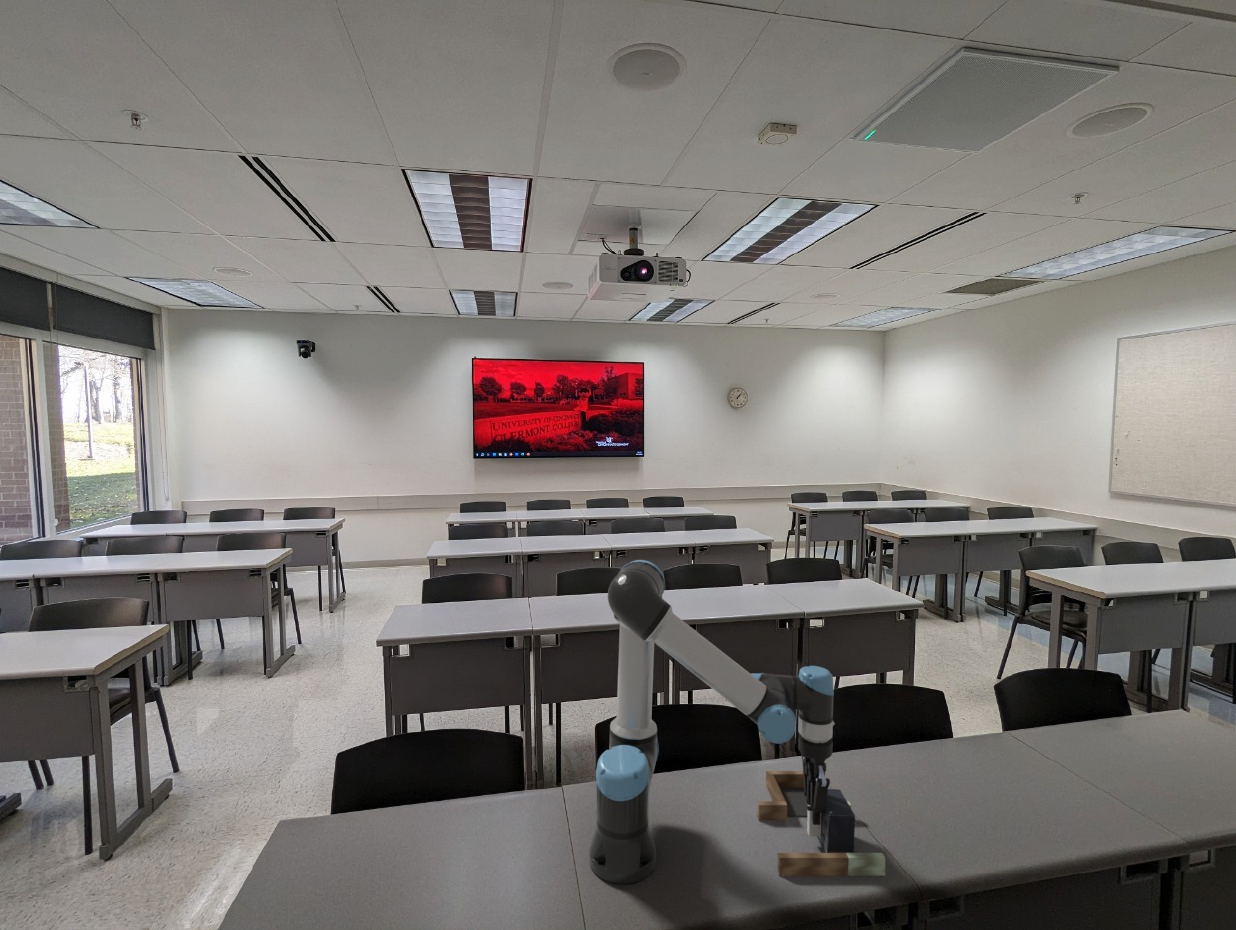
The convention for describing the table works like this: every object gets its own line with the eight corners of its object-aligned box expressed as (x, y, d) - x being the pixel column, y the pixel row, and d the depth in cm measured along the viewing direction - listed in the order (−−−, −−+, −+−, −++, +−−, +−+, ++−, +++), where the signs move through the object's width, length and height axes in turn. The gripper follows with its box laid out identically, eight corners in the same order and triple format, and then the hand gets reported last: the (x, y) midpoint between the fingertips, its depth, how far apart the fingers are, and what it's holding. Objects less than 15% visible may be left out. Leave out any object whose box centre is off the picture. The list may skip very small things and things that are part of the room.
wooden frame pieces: (779, 875, 129) (779, 857, 129) (745, 785, 162) (745, 771, 162) (885, 875, 129) (885, 857, 129) (829, 785, 163) (829, 771, 162)
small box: (856, 861, 134) (857, 815, 133) (826, 860, 134) (827, 815, 133) (840, 830, 144) (840, 788, 144) (813, 829, 144) (813, 787, 144)
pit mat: (785, 816, 149) (785, 815, 149) (772, 788, 161) (772, 787, 161) (821, 816, 149) (821, 815, 149) (805, 788, 161) (805, 787, 161)
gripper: (842, 750, 131) (840, 853, 132) (821, 722, 144) (820, 816, 145) (808, 750, 131) (806, 853, 132) (791, 722, 144) (789, 816, 145)
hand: (813, 834), depth 139 cm, fingers closed
